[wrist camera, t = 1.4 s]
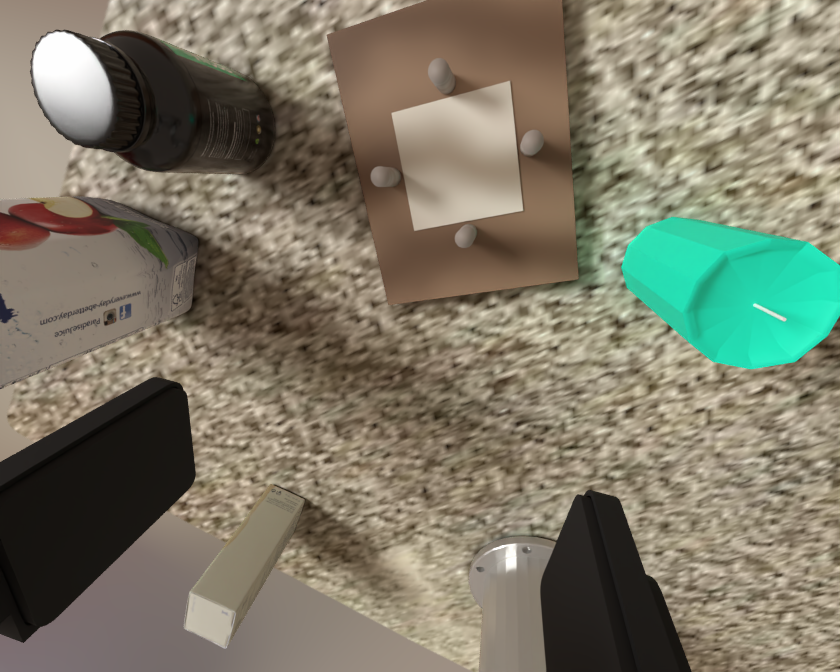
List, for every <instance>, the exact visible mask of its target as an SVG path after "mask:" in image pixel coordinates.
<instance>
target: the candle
mask: <svg viewBox="0 0 840 672" xmlns="http://www.w3.org/2000/svg"><path fill="white" fill-rule="evenodd" d="M621 268H622V272H623V275H624V279H625V282H626V286H627V288H628V289H629V290H630V291H631V292H633V293H634V294H635V295H636V296H637V297H638V298H639V299H640V300H642V301H643V302H644V303H645V304H646V305H647V306H648V307H649V308H651V309H652V310H653V311H654V312H655V313H656V314H657V315H658V316H660V317H661V318H662V319H663V320H664V321H665V322H666V323H667V324H669V325H670V326H671V327H672V328H673V329H674V330H675V331H677V332H678V333H679V334H680V335H681V336H682V337H683V338H684V339H686V340H687V341H688V342H689V343H690V344H691V345H693V346H694V347H695V348H696V349H698V350H699V351H700V352H701V353H703V354H704V355H705V356H706V357H708V358H709V359H710V360H711V361H713V362H717V363H722V364H727V365H732V366H737V367H742V368H747V369H756V368H762V367H768V366H774V365H780V364H786V363H792V362H796V361H797V360H798V359H800V358H801V357H802V356H803V355H805V354H806V353H807V352H808V351H809V350H811V349H812V348H813V347H814V346H816V345H817V344H818V343H819V342H821V341H822V340H823V339H824V338H826V337H827V336H828V334H829V333H830V331H831V329H832V328H833V326H834V324H835V323H836V321H837V319H838V318H839V316H840V265H839V264H837V263H836V262H834V261H833V260H832V259H830V258H829V257H828V256H826V255H825V254H824V253H822V252H821V251H820V250H818V249H817V248H815V247H814V246H813V245H811V244H810V243H809V242H805V241H800V240H796V239H791V238H786V237H781V236H776V235H771V234H766V233H761V232H756V231H751V230H746V229H741V228H736V227H731V226H726V225H721V224H716V223H711V222H706V221H702V220H695V219H687V218H678V217H671V218H668V219H665V220H663V221H660V222H657V223H654V224H652V225H649V226H647V227H646V228H645V229H644V230H643V231H642V232H641V233H640V234H639V235H638V236H637V237H636V238H635V239H634V240H633V241H632V242H631V243H630V244H629V245H628V247H627V251H626V254H625V257H624V260H623V264H622V267H621Z"/></svg>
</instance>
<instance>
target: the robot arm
mask: <svg viewBox="0 0 840 672" xmlns="http://www.w3.org/2000/svg"><path fill="white" fill-rule="evenodd" d="M195 475H196V472H195V463H194V454H193V444H192V435H191V426H190V417H189V408H188V399H187V394H186V392H185V391H184V390H183V387H182V385H181V384H180V383H177V382H174V381H170V380H166V379H162V378H158V377H153V378H151V379H148V380H147V381H145V382H143V383H141V384H139V385H138V386H136V387H134V388H132V389H130V390H129V391H127V392H125V393H123V394H121V395H120V396H118V397H116V398H114V399H112V400H111V401H109V402H107V403H105V404H104V405H102V406H100V407H98V408H96V409H95V410H93V411H91V412H89V413H87V414H86V415H84V416H82V417H80V418H78V419H77V420H75V421H73V422H71V423H69V424H68V425H66V426H64V427H62V428H60V429H59V430H57V431H55V432H53V433H52V434H50V435H48V436H46V437H44V438H43V439H41V440H39V441H37V442H35V443H34V444H32V445H30V446H28V447H26V448H25V449H23V450H21V451H19V452H17V453H16V454H14V455H12V456H10V457H9V458H7V459H5V460H3V461H2V462H0V634H2V635H4V636H7V637H10V638H12V639H15V640H18V641H20V642H23V643H24V642H25V641H26V640H27V639H28V638H29V637H30V636H31V635H32V634H33V633H34V632H35V631H37V629H38V628H40V627H42V626H45V625H47V624H49V623H51V622H52V621H53V620H54V619H56V618H57V617H58V616H59V615H60V614H61V613H62V612H63V611H64V610H65V609H66V608H67V607H68V606H69V605H70V604H71V603H72V602H73V601H74V600H75V599H76V598H77V597H78V596H79V595H81V594H82V593H83V592H84V591H85V590H86V589H87V588H88V587H89V586H90V585H91V584H92V583H93V582H94V581H95V580H96V579H97V578H98V577H99V576H100V575H101V574H102V573H103V572H104V571H105V570H106V569H107V568H108V567H109V566H110V565H111V564H112V563H113V562H114V561H116V560H117V559H118V558H119V557H120V556H121V555H122V554H123V553H124V552H125V551H126V550H127V549H128V548H129V547H130V546H131V545H132V544H133V543H134V542H135V541H136V540H137V539H138V538H139V537H140V536H141V535H142V534H143V533H144V532H145V531H146V530H147V529H148V528H149V527H150V526H151V525H153V523H155V522H156V521H157V520H158V519H159V518H160V516H162V515H163V513H165V512H166V511H167V510H168V509H169V508H170V507H171V506H172V505H173V504H174V503H175V502H176V501H177V500H178V499H179V498H180V497H181V496H182V495H183V494H184V493H185V492H186V491H187V490H188V489H189V488H190V487H191V486H192V484H193V482H194V480H195ZM469 586H470V591H471V593H472V595H473V597H474V599H475V601H476V602H477V603H478V605H479V606H480V607H481V608H482V625H481V642H480V659H479V672H691V669H690V666H689V664H688V661H687V658H686V656H685V653H684V650H683V648H682V645H681V642H680V640H679V637H678V634H677V632H676V629H675V626H674V624H673V621H672V618H671V616H670V613H669V610H668V608H667V605H666V602H665V600H664V597H663V594H662V592H661V590H660V588H659V585H658V583H657V582H656V581H655V580H654V579H653V578H652V577H651V576H648V575H646V574H645V571H644V568H643V565H642V562H641V559H640V557H639V554H638V551H637V548H636V545H635V542H634V539H633V537H632V534H631V531H630V528H629V525H628V522H627V519H626V517H625V514H624V511H623V508H622V505H621V503H620V501H619V499H618V498H617V497H614V496H610V495H607V494H603V493H599V492H595V491H591V490H588V491H587V492H586V493H585V495H584V496H583V495H577V496H576V497H575V499H574V501H573V503H572V506H571V508H570V511H569V513H568V515H567V518H566V520H565V523H564V525H563V527H562V530H561V532H560V535H559V537H558V539H557V542H554V541H551V540H548V539H543V538H538V537H530V536H517V537H508V538H504V539H500V540H497V541H495V542H492V543H490V544H488V545H487V546H485V547H484V548H482V549H481V550H480V551H479V552H478V553H477V554H476V555H475V557H474V559H473V561H472V563H471V566H470V571H469Z"/></svg>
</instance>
